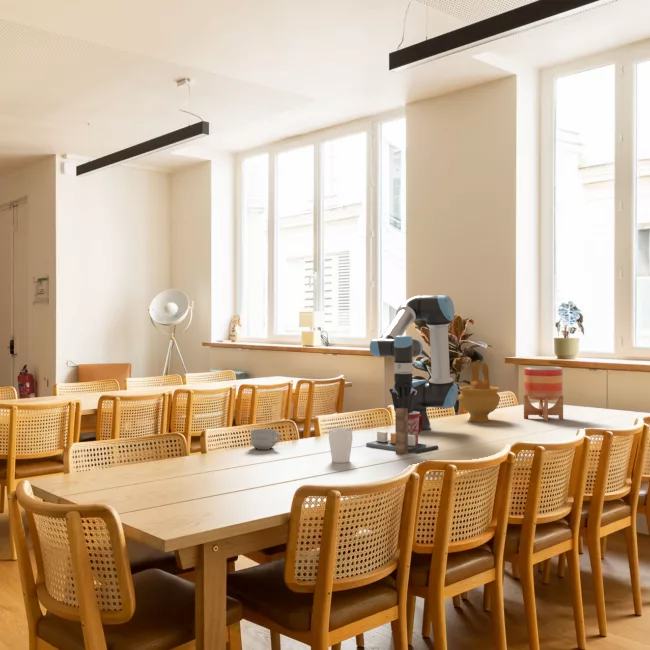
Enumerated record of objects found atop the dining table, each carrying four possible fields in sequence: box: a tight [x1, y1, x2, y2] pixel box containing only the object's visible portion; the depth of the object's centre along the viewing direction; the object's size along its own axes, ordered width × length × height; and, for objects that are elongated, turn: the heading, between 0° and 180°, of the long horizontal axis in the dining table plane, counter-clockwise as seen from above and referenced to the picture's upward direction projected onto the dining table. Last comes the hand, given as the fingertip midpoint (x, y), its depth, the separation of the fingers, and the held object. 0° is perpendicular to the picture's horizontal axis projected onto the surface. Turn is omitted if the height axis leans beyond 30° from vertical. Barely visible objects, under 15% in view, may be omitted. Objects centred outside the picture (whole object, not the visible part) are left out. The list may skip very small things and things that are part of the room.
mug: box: [408, 411, 423, 444], centre depth 309 cm, size 13×9×14 cm
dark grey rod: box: [413, 444, 439, 454], centre depth 291 cm, size 14×1×1 cm, turn 132°
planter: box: [523, 365, 564, 423], centre depth 375 cm, size 20×20×27 cm
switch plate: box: [365, 439, 427, 454], centre depth 299 cm, size 12×22×2 cm, turn 50°
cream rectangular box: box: [408, 435, 415, 446], centre depth 295 cm, size 2×4×4 cm, turn 50°
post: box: [394, 408, 408, 456], centre depth 286 cm, size 4×4×18 cm
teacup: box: [250, 428, 282, 450], centre depth 298 cm, size 14×11×8 cm
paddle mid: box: [390, 432, 396, 444], centre depth 299 cm, size 2×4×4 cm, turn 50°
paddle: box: [376, 430, 389, 442], centre depth 304 cm, size 2×4×4 cm, turn 50°
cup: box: [328, 427, 353, 464], centre depth 273 cm, size 9×9×12 cm
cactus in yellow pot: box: [457, 362, 501, 423], centre depth 371 cm, size 21×21×30 cm
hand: (403, 429), depth 297 cm, fingers closed
